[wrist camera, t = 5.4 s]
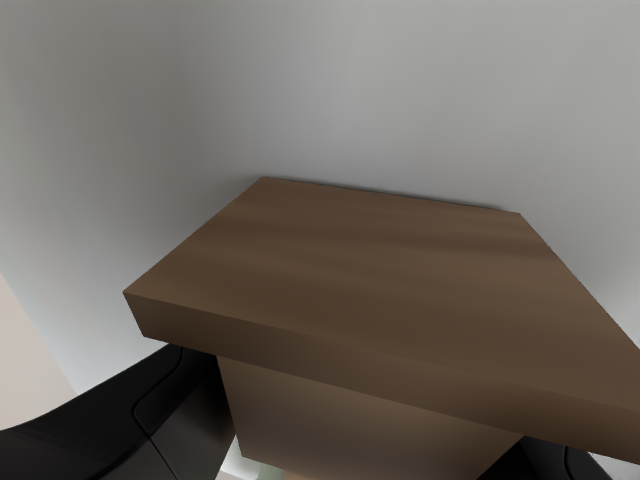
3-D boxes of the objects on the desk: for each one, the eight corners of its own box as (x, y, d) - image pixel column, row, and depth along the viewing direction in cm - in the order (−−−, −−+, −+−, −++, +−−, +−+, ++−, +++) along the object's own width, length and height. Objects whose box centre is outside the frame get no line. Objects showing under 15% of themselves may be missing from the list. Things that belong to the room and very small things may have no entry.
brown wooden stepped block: (262, 176, 8) (122, 291, 4) (519, 213, 7) (709, 428, 3) (278, 438, 18) (243, 549, 14) (384, 470, 17) (382, 600, 13)
